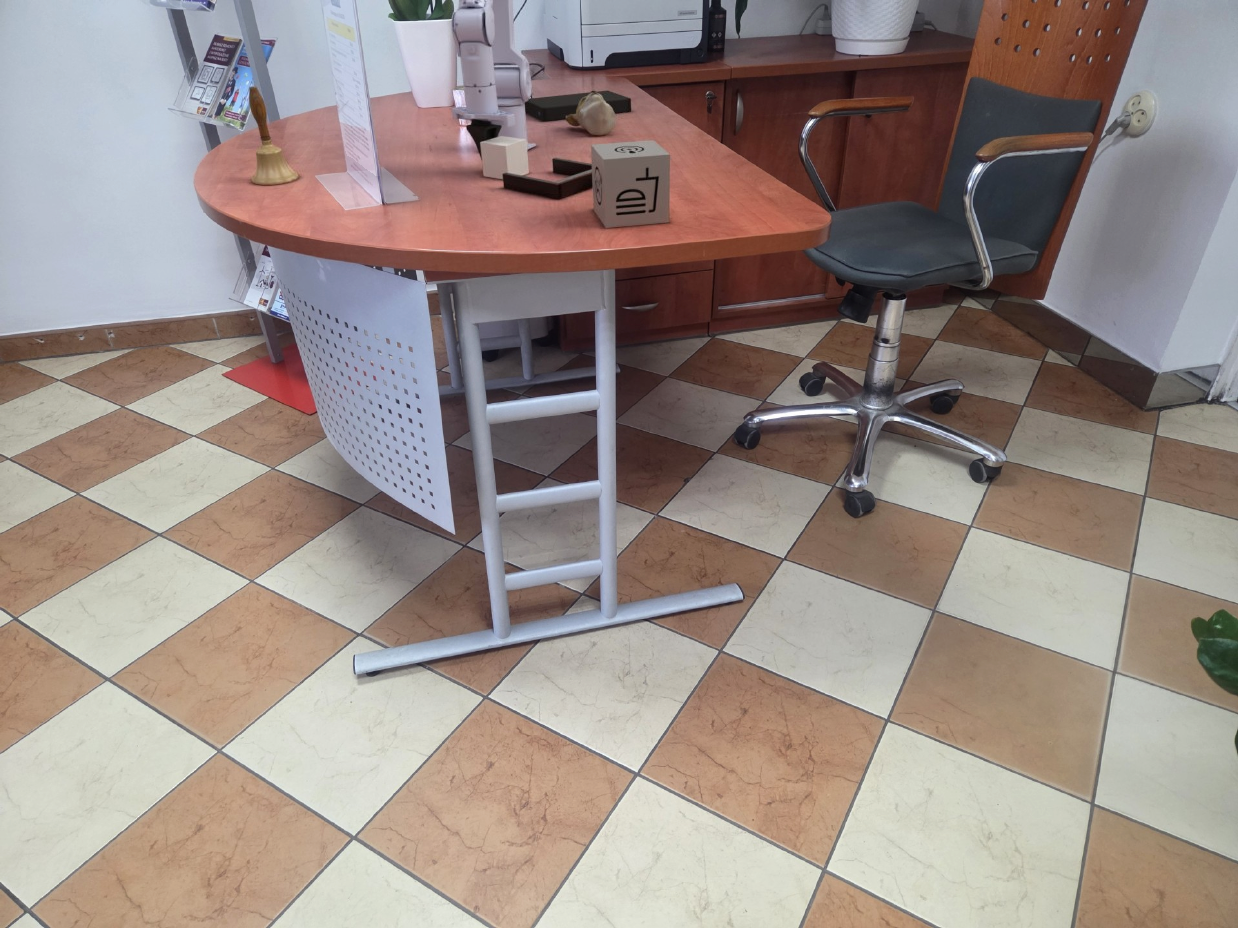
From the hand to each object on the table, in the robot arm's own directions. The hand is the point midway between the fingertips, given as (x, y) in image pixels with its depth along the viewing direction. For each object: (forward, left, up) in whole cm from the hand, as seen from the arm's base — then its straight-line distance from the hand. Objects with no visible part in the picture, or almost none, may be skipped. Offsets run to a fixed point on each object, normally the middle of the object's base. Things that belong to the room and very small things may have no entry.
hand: (488, 163), depth 151 cm
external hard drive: (-7, +58, -2) cm, 59 cm away
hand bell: (-36, -17, -2) cm, 40 cm away
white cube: (+4, -1, -2) cm, 5 cm away
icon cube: (+36, -19, -2) cm, 40 cm away
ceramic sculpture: (+6, +38, -2) cm, 39 cm away
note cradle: (+16, -5, -1) cm, 17 cm away
